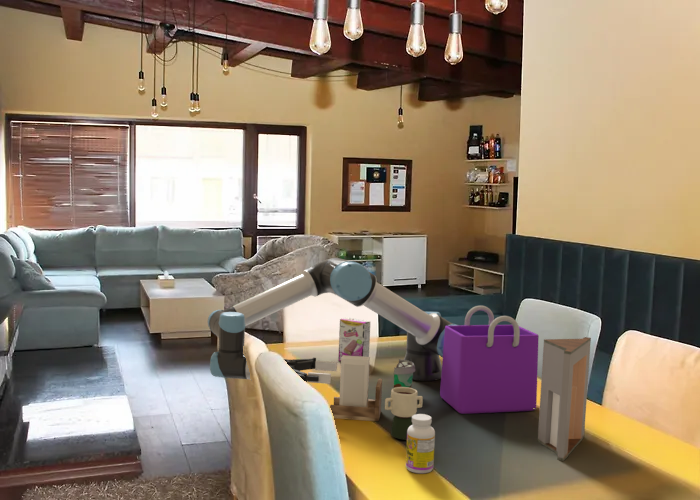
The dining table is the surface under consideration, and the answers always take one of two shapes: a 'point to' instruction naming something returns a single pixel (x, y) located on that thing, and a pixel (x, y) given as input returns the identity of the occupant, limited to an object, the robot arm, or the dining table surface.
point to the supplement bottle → (420, 445)
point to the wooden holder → (360, 408)
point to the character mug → (403, 409)
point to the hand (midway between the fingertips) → (333, 372)
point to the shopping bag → (489, 366)
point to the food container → (403, 373)
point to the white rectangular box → (354, 381)
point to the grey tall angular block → (563, 394)
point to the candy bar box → (354, 337)
